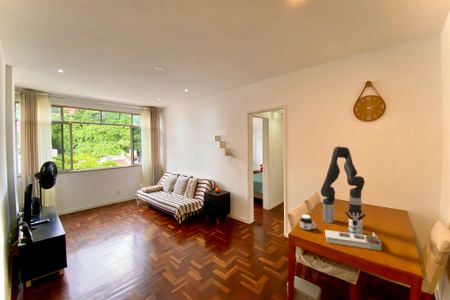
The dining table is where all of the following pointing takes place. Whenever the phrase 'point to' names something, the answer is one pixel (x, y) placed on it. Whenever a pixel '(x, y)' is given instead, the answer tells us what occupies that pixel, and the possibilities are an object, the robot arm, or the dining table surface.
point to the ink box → (355, 227)
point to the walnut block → (371, 239)
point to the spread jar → (307, 223)
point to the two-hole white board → (351, 239)
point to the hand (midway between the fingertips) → (354, 225)
